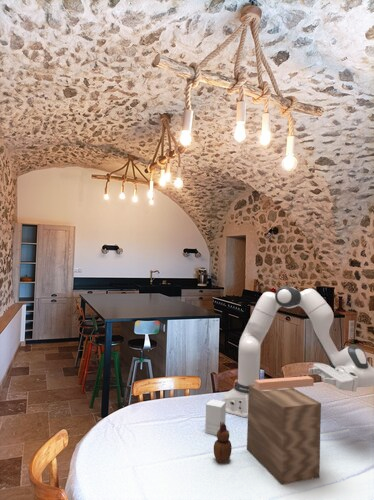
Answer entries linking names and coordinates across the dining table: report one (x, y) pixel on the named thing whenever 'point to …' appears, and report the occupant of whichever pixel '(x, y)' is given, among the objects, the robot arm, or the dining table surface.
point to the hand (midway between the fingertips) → (316, 375)
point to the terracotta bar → (283, 383)
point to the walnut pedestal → (284, 433)
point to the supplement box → (214, 416)
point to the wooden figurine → (222, 444)
